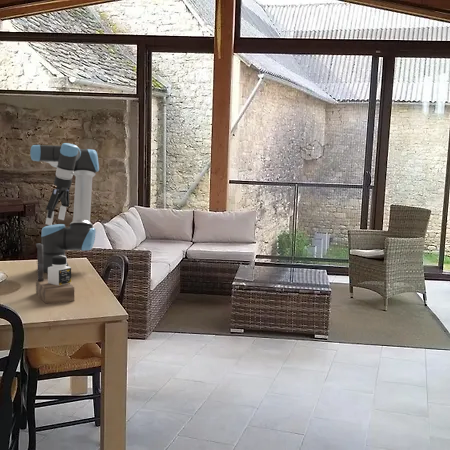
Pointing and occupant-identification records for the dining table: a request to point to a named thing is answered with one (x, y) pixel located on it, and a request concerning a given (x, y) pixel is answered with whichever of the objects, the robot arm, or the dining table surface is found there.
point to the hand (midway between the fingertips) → (54, 222)
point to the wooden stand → (51, 285)
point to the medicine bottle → (59, 271)
